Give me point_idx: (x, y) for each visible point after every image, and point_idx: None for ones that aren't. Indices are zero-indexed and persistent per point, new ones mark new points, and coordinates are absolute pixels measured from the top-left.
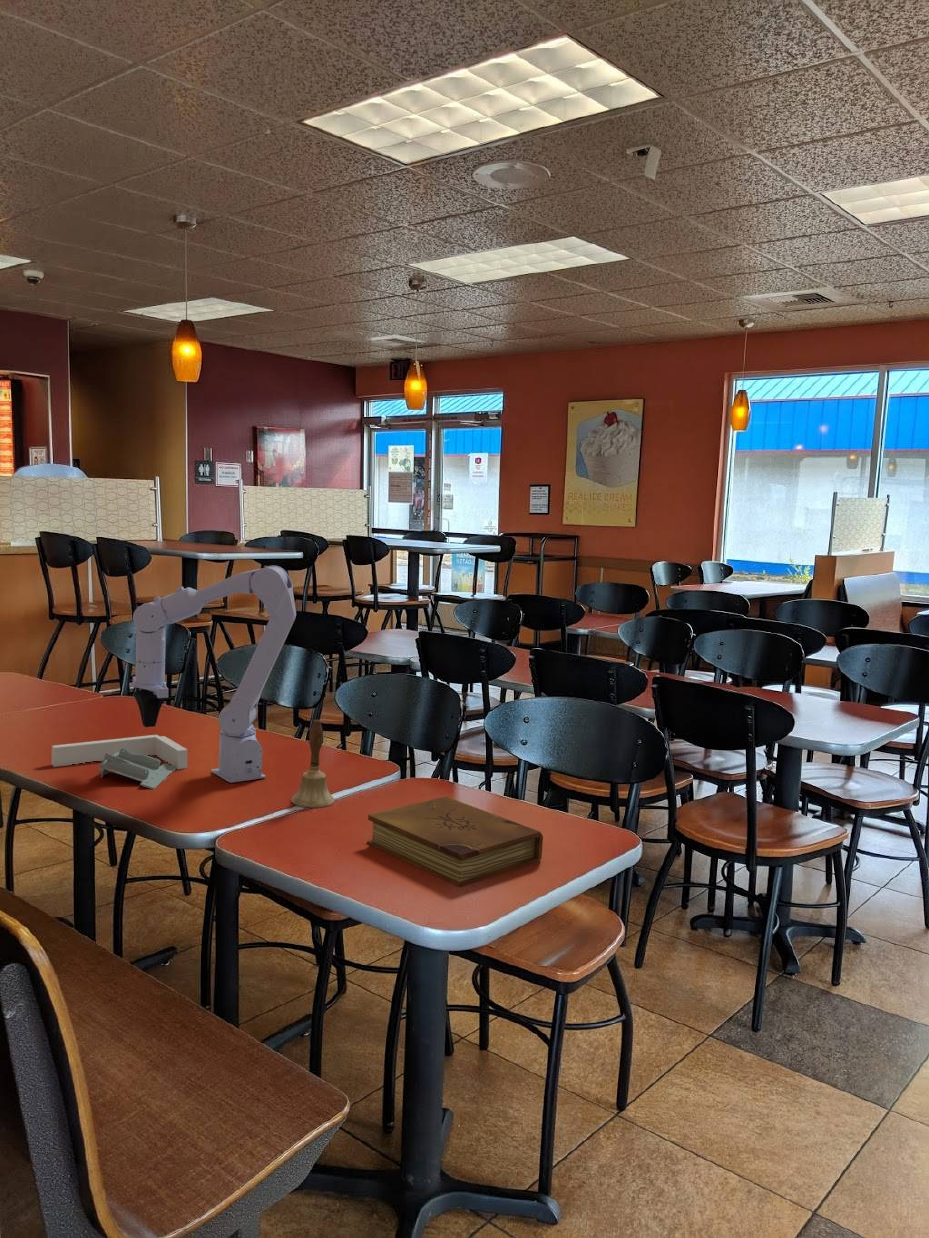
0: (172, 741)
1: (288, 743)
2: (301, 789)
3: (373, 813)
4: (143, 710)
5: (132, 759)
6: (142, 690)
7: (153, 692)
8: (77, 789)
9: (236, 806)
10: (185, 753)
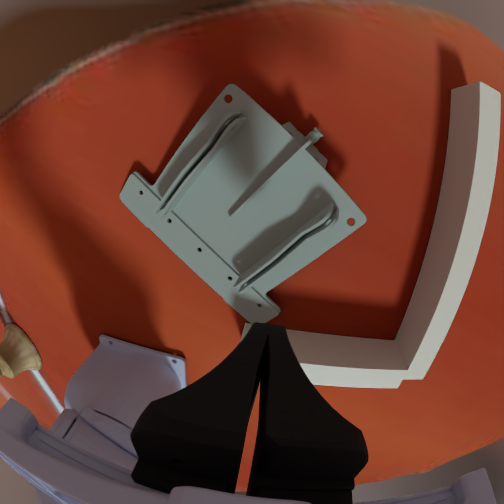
0: (338, 384)
1: None
2: (6, 342)
3: None
4: (224, 366)
5: (294, 232)
6: (319, 494)
7: (127, 478)
8: (217, 37)
9: (14, 265)
10: None
